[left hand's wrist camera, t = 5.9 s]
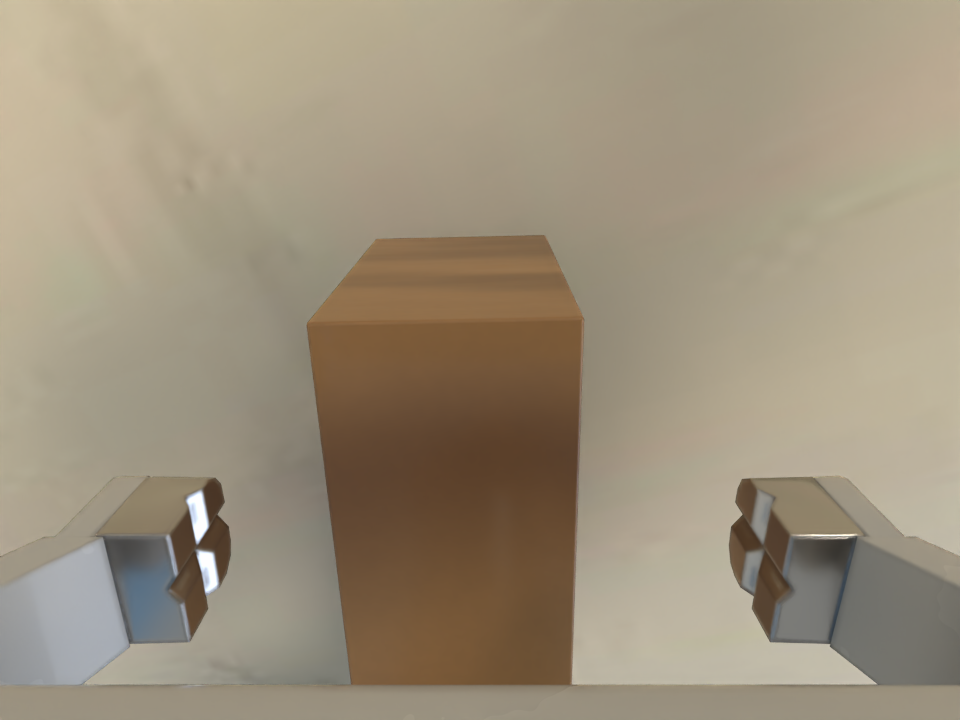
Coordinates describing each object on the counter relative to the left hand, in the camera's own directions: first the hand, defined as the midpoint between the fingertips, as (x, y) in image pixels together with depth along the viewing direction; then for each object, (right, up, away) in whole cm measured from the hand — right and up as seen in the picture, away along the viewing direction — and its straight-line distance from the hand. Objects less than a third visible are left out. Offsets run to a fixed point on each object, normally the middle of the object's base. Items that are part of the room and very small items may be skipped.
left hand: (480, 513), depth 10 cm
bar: (0, -5, +15) cm, 15 cm away
